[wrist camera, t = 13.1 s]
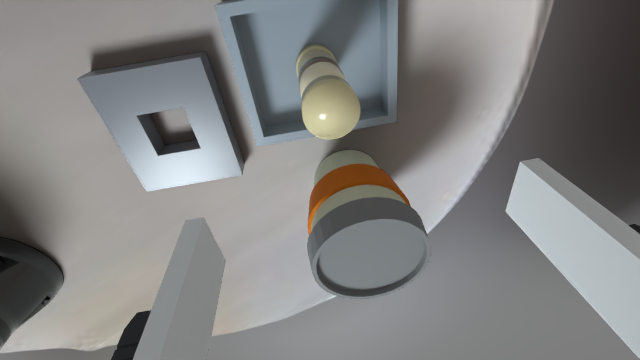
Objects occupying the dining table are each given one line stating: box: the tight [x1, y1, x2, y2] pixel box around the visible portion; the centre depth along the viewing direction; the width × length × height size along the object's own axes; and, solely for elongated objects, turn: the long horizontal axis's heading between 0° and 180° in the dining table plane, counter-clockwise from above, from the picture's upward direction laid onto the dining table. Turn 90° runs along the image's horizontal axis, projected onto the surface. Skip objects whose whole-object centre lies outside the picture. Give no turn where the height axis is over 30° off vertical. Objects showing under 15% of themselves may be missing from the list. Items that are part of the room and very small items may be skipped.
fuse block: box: [78, 51, 244, 191], centre depth 34 cm, size 14×12×2 cm
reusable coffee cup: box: [307, 150, 431, 299], centre depth 36 cm, size 13×13×15 cm
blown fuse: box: [296, 44, 360, 139], centre depth 27 cm, size 4×4×13 cm
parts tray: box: [215, 0, 398, 147], centre depth 31 cm, size 14×16×4 cm
